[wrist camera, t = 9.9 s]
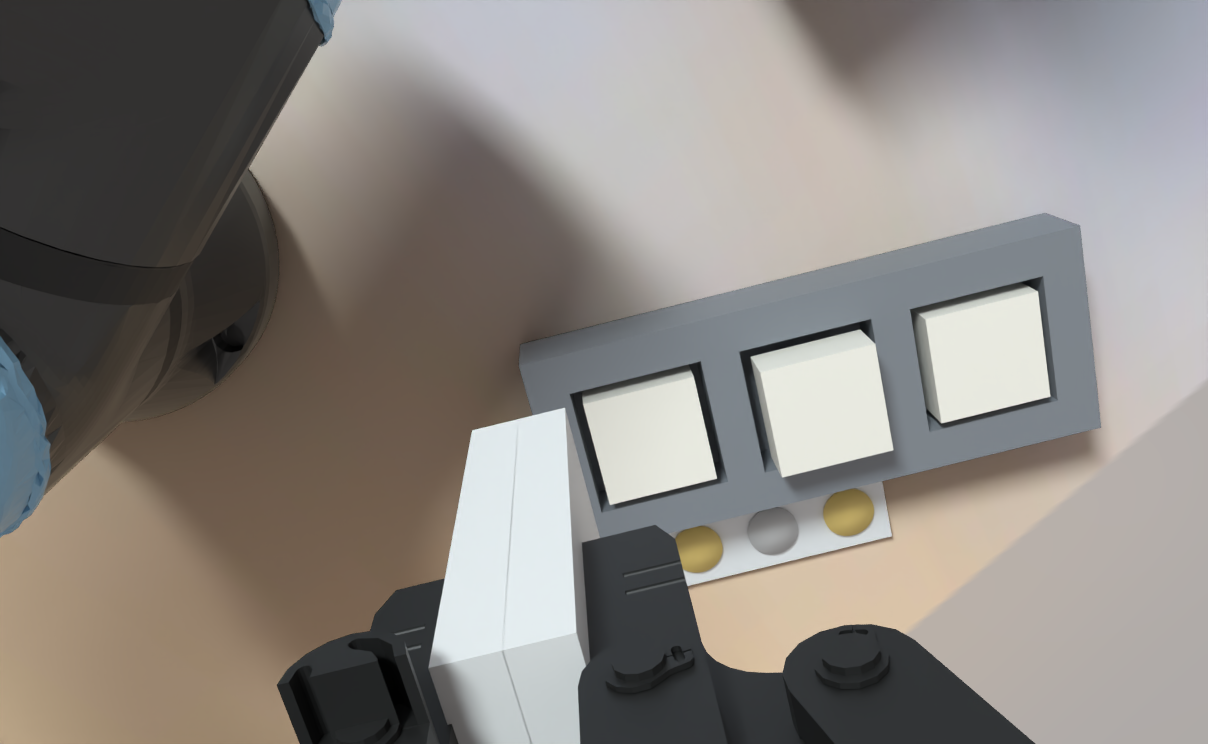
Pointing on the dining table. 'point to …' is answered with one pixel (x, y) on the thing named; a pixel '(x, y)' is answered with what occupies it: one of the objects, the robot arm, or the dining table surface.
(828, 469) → the board
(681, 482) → the button
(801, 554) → the card
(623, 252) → the dining table surface
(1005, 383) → the button
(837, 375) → the button
